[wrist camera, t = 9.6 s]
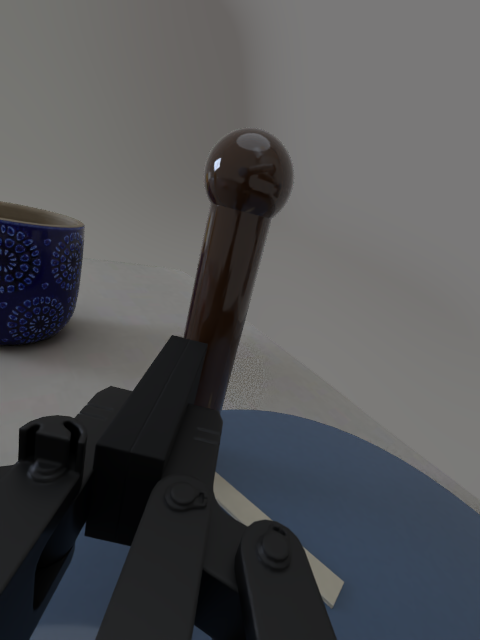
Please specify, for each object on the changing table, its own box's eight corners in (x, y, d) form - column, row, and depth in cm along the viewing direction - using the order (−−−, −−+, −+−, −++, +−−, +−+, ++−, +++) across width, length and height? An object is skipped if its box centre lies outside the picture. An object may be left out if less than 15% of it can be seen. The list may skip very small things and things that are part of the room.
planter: (80, 315, 38) (89, 218, 35) (69, 359, 29) (80, 233, 25) (-36, 304, 34) (-39, 192, 30) (-94, 352, 24) (-108, 198, 21)
